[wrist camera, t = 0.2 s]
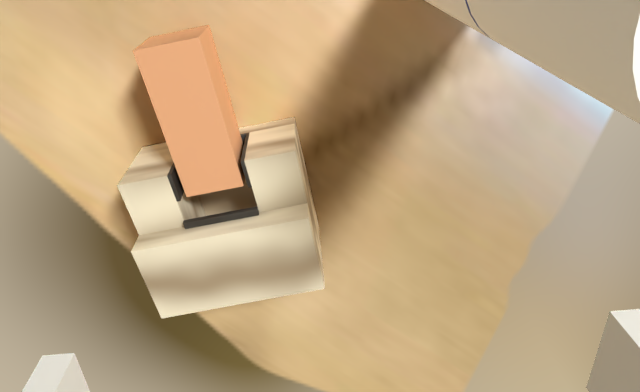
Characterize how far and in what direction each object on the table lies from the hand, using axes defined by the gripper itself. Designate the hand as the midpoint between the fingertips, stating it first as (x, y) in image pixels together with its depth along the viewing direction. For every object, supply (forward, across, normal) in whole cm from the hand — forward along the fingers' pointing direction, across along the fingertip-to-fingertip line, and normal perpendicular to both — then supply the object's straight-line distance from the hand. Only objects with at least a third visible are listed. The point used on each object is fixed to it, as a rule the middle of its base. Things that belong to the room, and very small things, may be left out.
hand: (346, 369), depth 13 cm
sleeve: (+27, -7, -9) cm, 29 cm away
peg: (+25, -8, -1) cm, 26 cm away
